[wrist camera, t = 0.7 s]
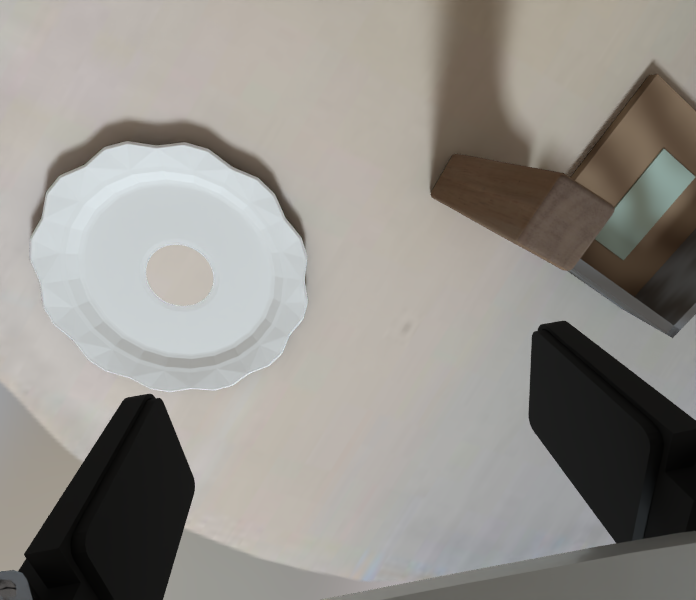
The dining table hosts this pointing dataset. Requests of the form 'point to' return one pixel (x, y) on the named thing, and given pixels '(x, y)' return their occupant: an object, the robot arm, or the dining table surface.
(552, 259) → the wooden block
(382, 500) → the dining table surface
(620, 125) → the tray
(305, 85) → the dining table surface
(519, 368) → the dining table surface
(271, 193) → the plate
